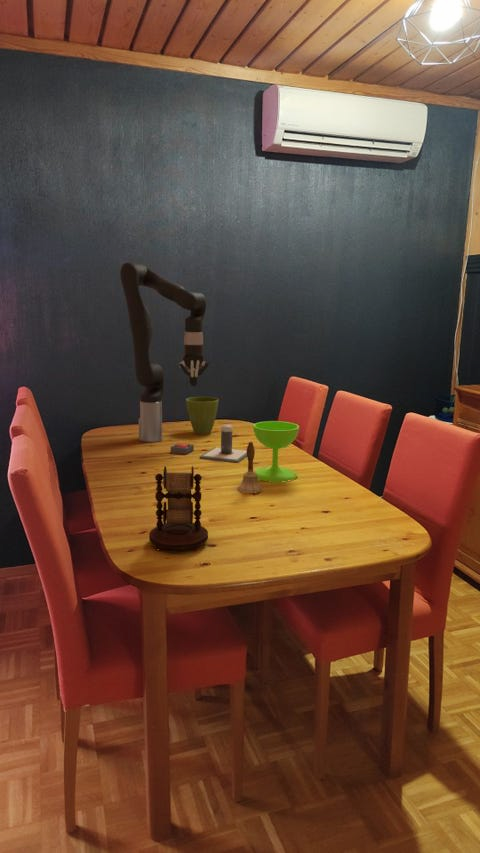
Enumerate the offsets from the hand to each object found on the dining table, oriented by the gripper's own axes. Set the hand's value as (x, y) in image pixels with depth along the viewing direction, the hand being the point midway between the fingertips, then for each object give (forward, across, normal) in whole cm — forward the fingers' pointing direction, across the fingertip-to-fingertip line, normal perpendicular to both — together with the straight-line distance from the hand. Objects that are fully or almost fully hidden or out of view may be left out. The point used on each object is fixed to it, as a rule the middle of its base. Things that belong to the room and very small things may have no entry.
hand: (193, 385), depth 237 cm
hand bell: (+26, +1, +60) cm, 65 cm away
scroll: (+26, +36, +92) cm, 102 cm away
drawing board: (+26, -8, +18) cm, 32 cm away
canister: (+24, -8, +18) cm, 31 cm away
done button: (+25, +7, +6) cm, 27 cm away
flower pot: (+26, -13, -23) cm, 37 cm away
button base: (+26, +6, +6) cm, 27 cm away
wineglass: (+26, -13, +49) cm, 57 cm away
